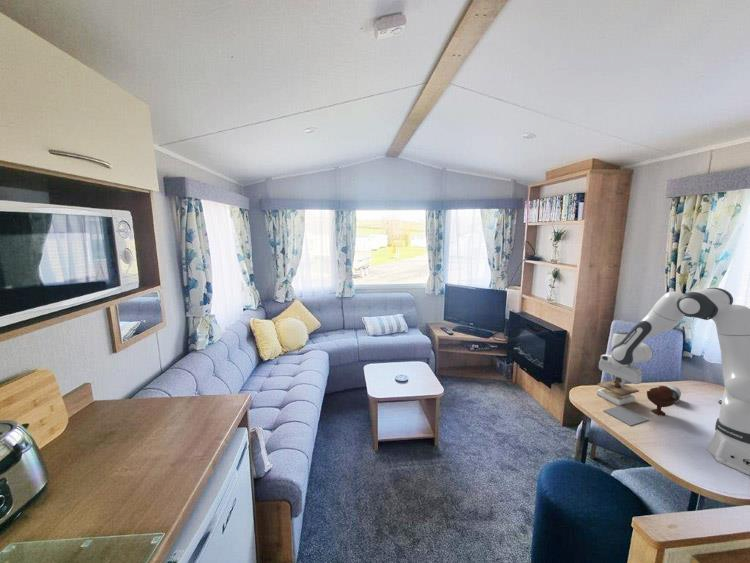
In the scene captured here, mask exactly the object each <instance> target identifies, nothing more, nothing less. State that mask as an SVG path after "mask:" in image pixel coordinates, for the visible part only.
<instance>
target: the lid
mask: <svg viewBox="0 0 750 563" xmlns="http://www.w3.org/2000/svg"><path fill="white" fill-rule="evenodd" d="M620 382H623V381H622V379H621V378H619V377H616V376H615V383H613V382H612V379H611V380H607V381H604V382H602V381H601V382H599V383H597V386H598V387H602V389H603V388H605V389H607V390H609V391H612V392H614V393H616V394H618V395H620V396H625V395H628V394H631V395H633V394H634V393H636V394H637V393H638V392H640V389H637V388H634V387H632V386H630V385H628V384H625V386H623V387H622V386H620V385H619V384H620Z"/></svg>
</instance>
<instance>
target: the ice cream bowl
mask: <svg viewBox="0 0 750 563" xmlns="http://www.w3.org/2000/svg"><path fill="white" fill-rule="evenodd" d="M667 386H668V385H660V386H658V387H652V388H650V389H649V390H647V391H646V397H647V399H648V401H650V402H651V403H652V404H654V405H655V406H656V408H652V409H651V413H652V414H654V415H657V416H660V417H665V416H666V412H665V411H663V410H662V408H668V407H671V406H673V405H674V404H675V403H676V402H675V401H676V400H675V398H674V397H673V391H672V390H671V389H670V388H669V387H667Z"/></svg>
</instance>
